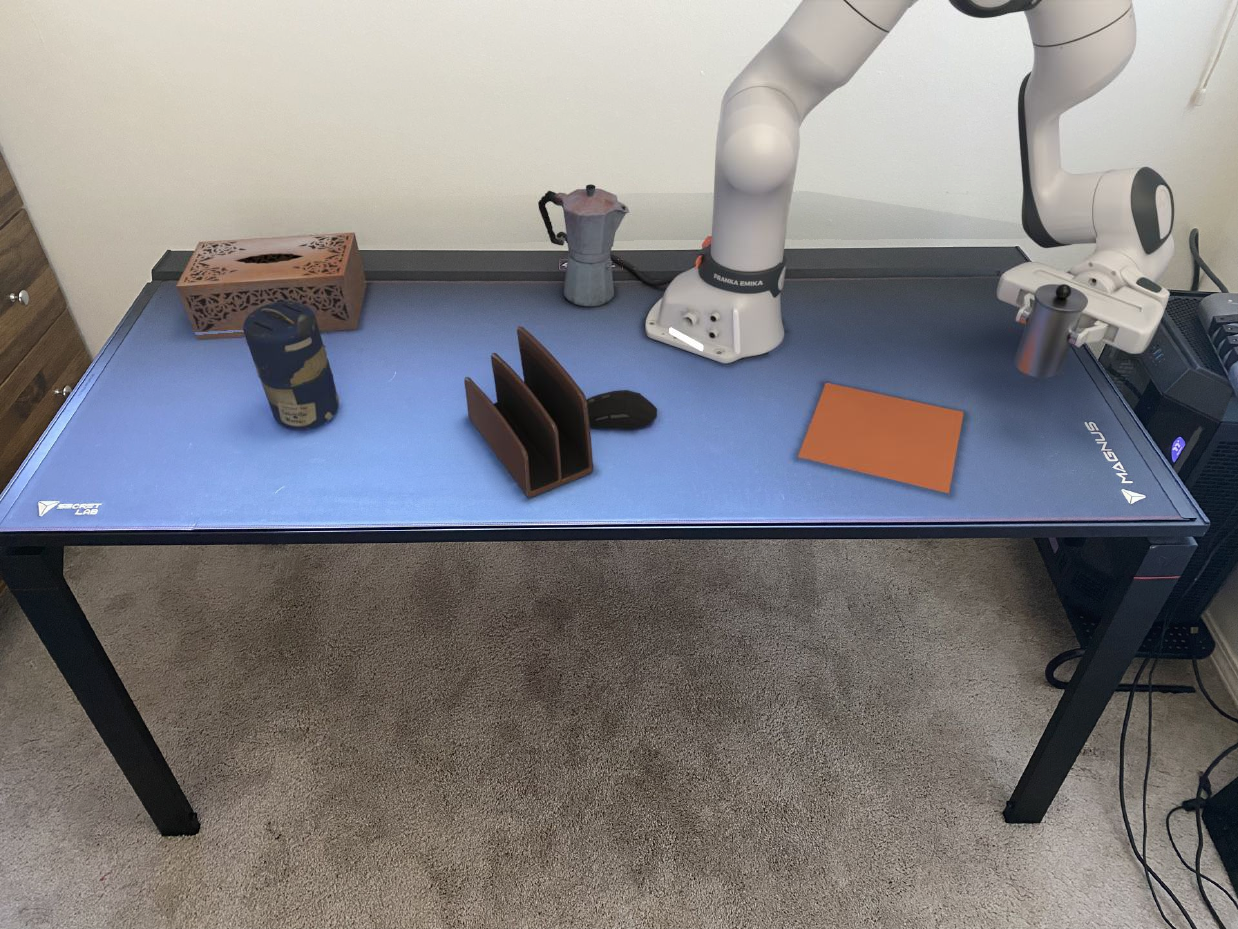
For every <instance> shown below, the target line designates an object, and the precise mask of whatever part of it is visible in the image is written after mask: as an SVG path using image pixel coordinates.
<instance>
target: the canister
mask: <svg viewBox="0 0 1238 929" xmlns="http://www.w3.org/2000/svg"><path fill="white" fill-rule="evenodd" d="M243 331H244V335H245V337H244V338H245V341H246V344H247V346H248V349H249V352H250V355H251V358H252V361H253V363H254V367H255V370H256V372H257V375H258V378H259V380H260V382H261V385H262V389H263V391H264V394H265V397H266V399H267V402H268V405H269V408H270V411H271V414H272V416H273V418H274V419H275V421H276V423H277V424H278V425H280V426H281V427H283V428H285V429H288V430H292V431H307V430H312V429H315V428H318V427H321V426H323V425H324V424H326V423H327V422H330V420H332V419H333V418H334V417H335V415H336V414H337V413H338V410H339V407H340V398H339V395H338V392H337V388H336V384H335V379H334V374H333V372H332V368H331V365H330V360H329V358H328V352H327V351H326V345H325V344H324V342H323V338H322V335H321V332H320V331H319V328H318V324H317V320H316V317H315V314H314V312H313V311H312V310H311V309H310V308H309V307H308V306H306V305H304V304H302V303H298V302H293V301H281V302H274V303H270V304H267V305H264V306H262V307H260V308H258V309H256V310H254V311H253V312H252V313H251V314H249V315H248V317H247V318H246V319H245V321H244V325H243Z"/></svg>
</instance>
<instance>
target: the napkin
mask: <svg viewBox="0 0 1238 929" xmlns="http://www.w3.org/2000/svg"><path fill="white" fill-rule="evenodd" d="M823 386H824V387H823V389H822V392H821V394H820V397H819V400H818V402H817V404H816V407H815V410H814V413H813V415H812V418H811V420H810V423H809V426H808V428H807V431H806V435H805V436H804V439H803V441H802V443H801V444H802V445H801V446H800V449H799V452H798V454H797V457H798V458H800V459H805V460H810V461H814V462H817V463H822V464H824V465H825V464H826V465H830V466H833V467H838V468H843V469H846V470H850V471H855V472H859V473H862V474H867V475H871V476H875V477H879V478H884V479H889V480H892V481H897V482H900V483H905V484H908V485H913V486H917V487H921V488H925V489H929V490H934V491H938V492H942V493H946V494H949V493H950V490H951V484H952V479H953V473H954V468H955V461H956V456H957V453H958V452H957V451H958V447H959V446H958V445H959V441H960V435H961V430H962V425H963V419H964V411H961V410H957V409H956V410H955V409H951V408H947V407H942V406H937V405H933V404H928V403H924V402H918V401H913V400H909V399H905V398H900V397H895V396H892V395H885V394H881V393H877V392H872V391H867V390H862V389H857V388H855V387H854V388H853V387H849V386H844V385H839V384H835V383H830V382H825V384H824V385H823Z"/></svg>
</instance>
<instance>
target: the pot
mask: <svg viewBox="0 0 1238 929" xmlns="http://www.w3.org/2000/svg"><path fill="white" fill-rule="evenodd" d="M1034 298H1035V300H1034V303H1033V306H1032V309H1031V312H1030V315H1029V318H1028V321H1027V324H1026V325H1025V327H1024V329H1023V333H1022V336H1021V339H1020V341H1019V345H1018V347H1017V350H1016V354H1015V357H1014V359H1013V363H1014V366H1015V367H1016V368H1017V369H1018V370H1019V371H1020V372H1021V373H1023V374H1025V375H1028V376H1030V377H1034V378H1038V379H1039V378H1040V379H1048V378H1054V377H1055V376H1057V375H1059V373H1060V372H1061V370H1062V367H1063V364H1064V362H1065V359H1066V357H1067V354H1068V351H1069V350H1070V347H1071V344H1070V343H1068V340H1069V339H1070V334H1071V333H1072V331H1074V330H1075V329H1076V328H1077V325H1078V323H1079V320H1080V318H1081V315H1082V312H1083V310H1084V309H1085V308H1086V307H1087V304H1088V299H1087V297H1086V296H1085V295H1084V294H1083V293H1082V292H1081V291H1079V290H1077V289H1075V288H1072V287H1070V286H1069V285H1067V284H1061V285H1059V284H1048V285H1043V286H1041V287H1039V288H1038V289H1037V290H1036V291H1035V295H1034Z"/></svg>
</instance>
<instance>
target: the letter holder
mask: <svg viewBox="0 0 1238 929" xmlns="http://www.w3.org/2000/svg"><path fill="white" fill-rule="evenodd" d="M516 335H517V343H518V349H519V355H520V362H521V369H522V376H523V379H522V377H521V376H520V375H519V374H517V372H516V371H515V370H514V369H513V368H512V367H511V365H509V364H508V362H506V361H505V360H504V359H503V358H502V357H501V356H500V355H499V354H497V353H496V352H493V353H491V355H490V363H491V368H492V369H491V370H492V376H493V380H494V381H493V383H494V387H495V388H494V389H495V396H496V402H494V403H493V401H492V400H491V399H490V398H489V396H488V395H487V394H486V393H485V392H484V391H483V390H482V389H481V388H480V387H479V386H478V385H477V384H476V383H475V382H474V380H473V379H472V378H471V377H469V376H465V377H464V389H465V398H466V406H467V407H466V408H467V414H468V419H469V420H470V421H471V423H472V425H474V426H475V428H476V430H477V431H478V432H479V434H480V435H481V436H482V437H483V439H484V440H485V441H486V443H487V444H488V446H489V447H490V448H491V450H492V451H493V452H494V454H495V455H496V457H497V458H498V459H499V460H500V462H501V463H502V465H503V466H504V468H506V470H507V471H508V473H509V474H510V475H511V476H512V478H513V479H514V481H515V482H516V483H517V485H518V486H519V488H521V491H523V492H524V494H525V496H526V497H527V498H529V499H531V498H533V497H536V496H538V495H541V494H543V493H546V492H548V491H550V490H553V489H555V488H558V487H561V486H563V485H566V484H568V483H570V482H573V481H576V480H578V479H580V478H583V477H585V476H587V475H590V474H593V472H594V470H595V469H594V458H593V457H594V456H593V448H592V436H591V434H592V433H591V428H590V425H589V417H588V408H587V399H588V398H587V396H586V394H585V393H584V391H583V390H582V389H581V388H580V386H579V385H578V383H577V382H576V381H575V380H574V379H573V377H572V375H570V374H569V372H567V369H565V367H564V366H563V365H562V364H561V363H560V362H559V361H558V359H557V358H556V357H555V356H554V355H553V354H552V353H551V352H550V351H549V350H548V349H547V348H546V347H545V346H544V345H543V344H542V342H540V341H539V340H538V339H537V338H536V337H535V336H534V335H533V334H531V333H530V331H528V330H527V329H526V328H524V326H520V325H519V326H516Z"/></svg>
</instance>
